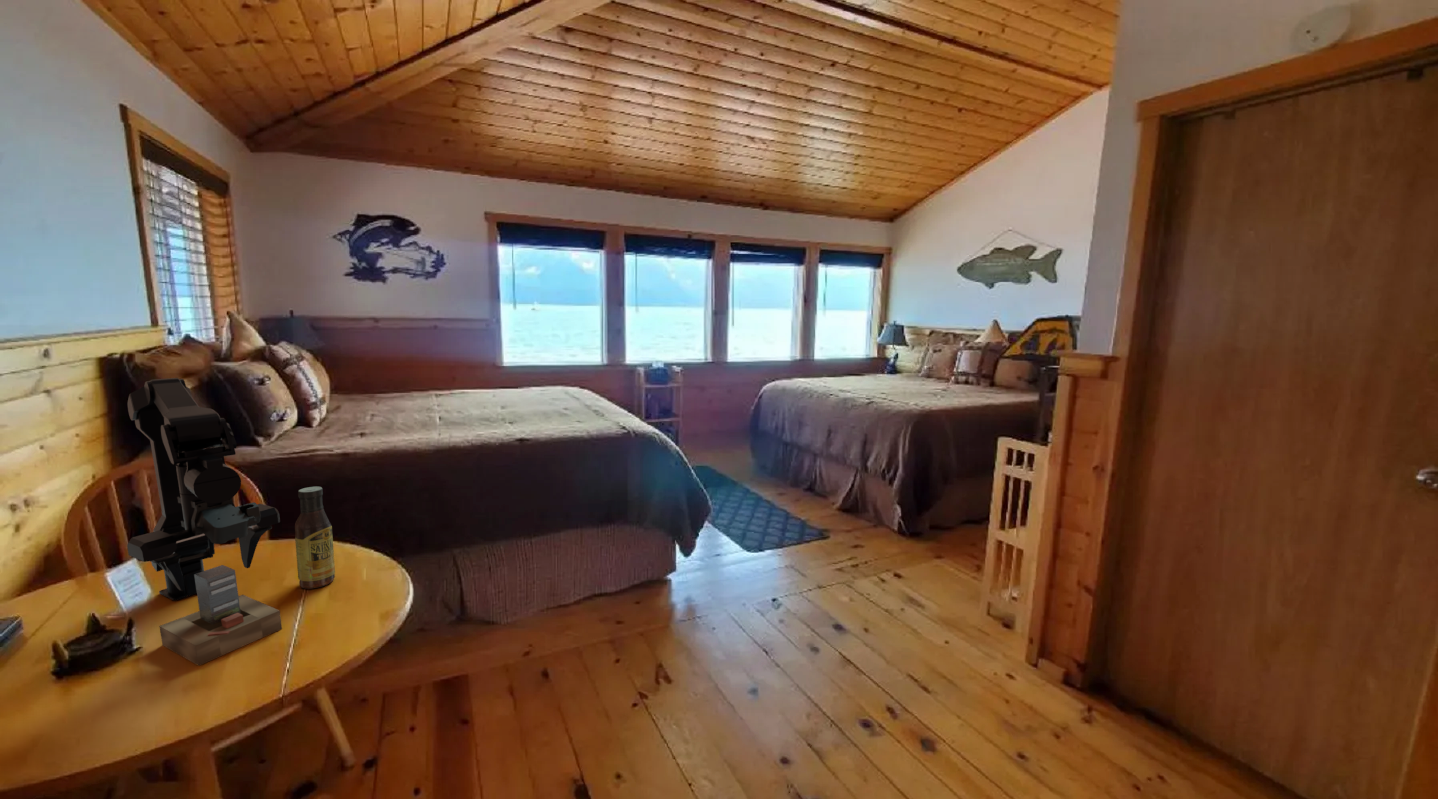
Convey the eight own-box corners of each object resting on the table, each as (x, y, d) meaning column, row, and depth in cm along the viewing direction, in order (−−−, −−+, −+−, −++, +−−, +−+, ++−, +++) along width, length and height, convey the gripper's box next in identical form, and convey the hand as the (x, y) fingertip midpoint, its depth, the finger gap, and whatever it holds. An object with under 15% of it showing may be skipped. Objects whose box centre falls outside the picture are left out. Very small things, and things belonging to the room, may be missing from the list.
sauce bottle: (317, 592, 118) (307, 496, 114) (291, 588, 119) (280, 493, 115) (344, 577, 124) (335, 485, 120) (319, 574, 125) (309, 483, 122)
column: (199, 617, 100) (193, 573, 99) (227, 607, 104) (221, 564, 103) (213, 624, 98) (207, 580, 97) (241, 613, 102) (235, 570, 101)
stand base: (162, 645, 99) (158, 619, 98) (245, 612, 110) (242, 588, 109) (200, 666, 94) (196, 639, 93) (283, 629, 104) (280, 605, 103)
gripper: (153, 516, 86) (168, 616, 88) (293, 481, 102) (302, 566, 105) (118, 503, 90) (134, 598, 93) (257, 472, 107) (267, 554, 110)
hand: (215, 578), depth 100 cm, fingers open, 9 cm apart
